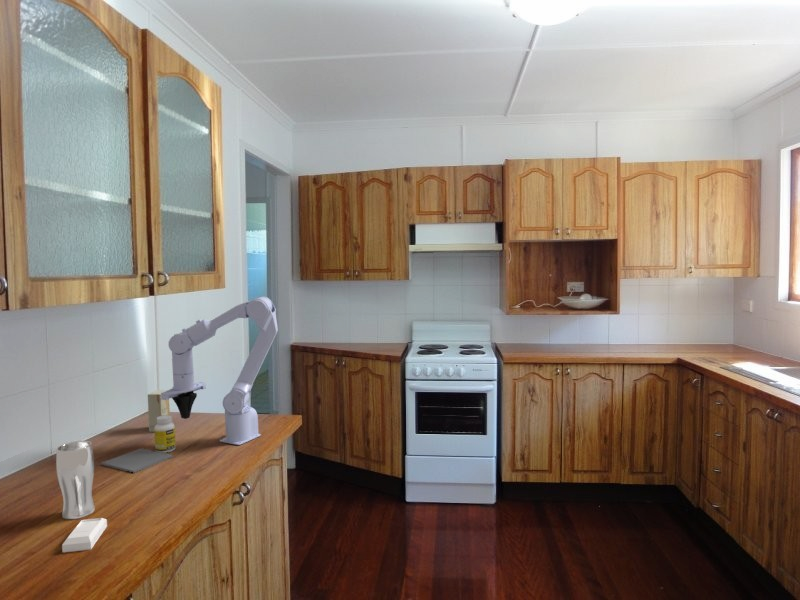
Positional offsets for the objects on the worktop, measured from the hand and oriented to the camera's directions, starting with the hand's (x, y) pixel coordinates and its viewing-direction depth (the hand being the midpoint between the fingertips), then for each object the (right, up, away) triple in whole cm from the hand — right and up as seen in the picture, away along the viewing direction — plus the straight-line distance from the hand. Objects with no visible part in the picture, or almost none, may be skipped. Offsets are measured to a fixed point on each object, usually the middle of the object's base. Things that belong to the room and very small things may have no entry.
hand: (185, 417), depth 160 cm
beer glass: (-6, -11, -43) cm, 45 cm away
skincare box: (-14, -7, +13) cm, 20 cm away
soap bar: (+2, -13, -54) cm, 56 cm away
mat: (-7, -9, -14) cm, 18 cm away
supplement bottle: (-3, -8, -6) cm, 11 cm away
